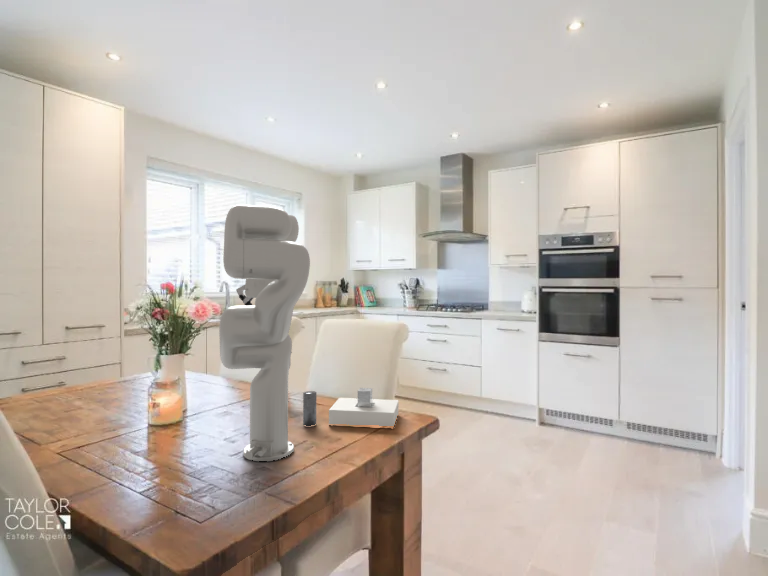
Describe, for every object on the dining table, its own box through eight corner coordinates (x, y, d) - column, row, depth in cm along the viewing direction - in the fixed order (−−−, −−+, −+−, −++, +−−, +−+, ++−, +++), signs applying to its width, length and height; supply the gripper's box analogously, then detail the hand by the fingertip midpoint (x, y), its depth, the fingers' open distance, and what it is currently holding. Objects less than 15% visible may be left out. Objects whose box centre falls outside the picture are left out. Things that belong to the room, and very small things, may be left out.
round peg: (314, 427, 131) (314, 394, 131) (301, 427, 131) (301, 394, 131) (317, 423, 135) (318, 391, 135) (305, 422, 135) (305, 390, 135)
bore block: (393, 429, 130) (393, 412, 130) (328, 426, 132) (328, 409, 132) (398, 415, 143) (398, 400, 143) (339, 412, 146) (339, 397, 146)
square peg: (370, 423, 135) (370, 391, 135) (357, 422, 136) (357, 390, 135) (372, 419, 139) (372, 388, 139) (359, 418, 140) (359, 387, 139)
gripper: (231, 260, 129) (231, 317, 130) (286, 260, 127) (286, 318, 127) (242, 261, 137) (242, 315, 137) (295, 261, 135) (295, 316, 135)
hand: (263, 316), depth 132 cm, fingers open, 9 cm apart
